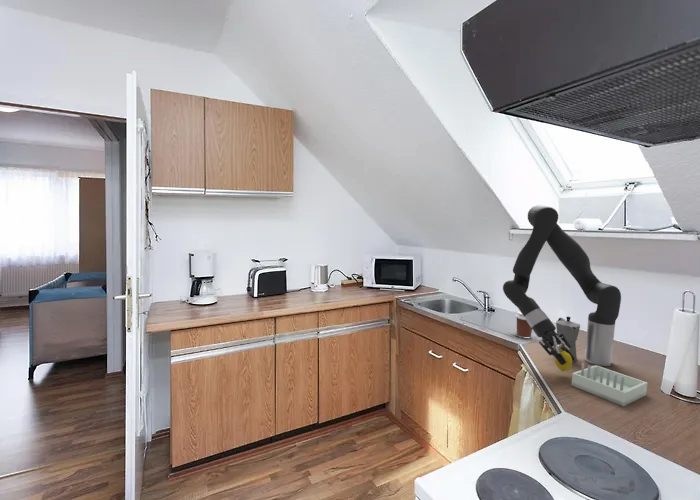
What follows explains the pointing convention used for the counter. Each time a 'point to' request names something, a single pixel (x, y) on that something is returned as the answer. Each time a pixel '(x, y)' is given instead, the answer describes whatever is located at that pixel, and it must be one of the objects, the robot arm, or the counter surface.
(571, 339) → the coffeepot
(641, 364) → the counter surface
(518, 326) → the coffee cup
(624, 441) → the counter surface
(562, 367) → the lemon
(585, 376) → the dish rack
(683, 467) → the counter surface
